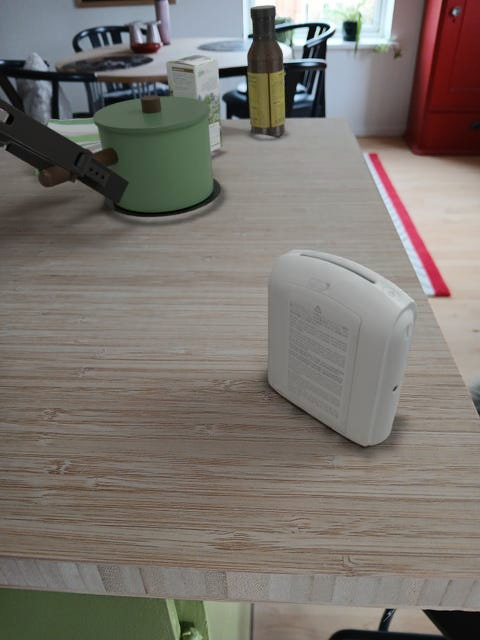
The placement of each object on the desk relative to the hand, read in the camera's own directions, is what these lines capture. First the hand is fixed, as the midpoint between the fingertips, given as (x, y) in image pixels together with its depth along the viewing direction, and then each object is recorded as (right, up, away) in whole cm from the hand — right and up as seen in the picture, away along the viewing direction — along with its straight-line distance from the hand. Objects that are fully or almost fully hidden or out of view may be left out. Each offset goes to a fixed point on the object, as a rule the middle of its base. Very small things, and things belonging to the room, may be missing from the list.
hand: (87, 179), depth 61 cm
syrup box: (+12, +11, +24) cm, 29 cm away
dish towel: (-7, +12, +28) cm, 31 cm away
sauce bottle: (+23, +17, +32) cm, 43 cm away
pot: (+4, -1, +7) cm, 8 cm away
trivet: (+8, 0, +10) cm, 13 cm away
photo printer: (+25, -23, -22) cm, 41 cm away
